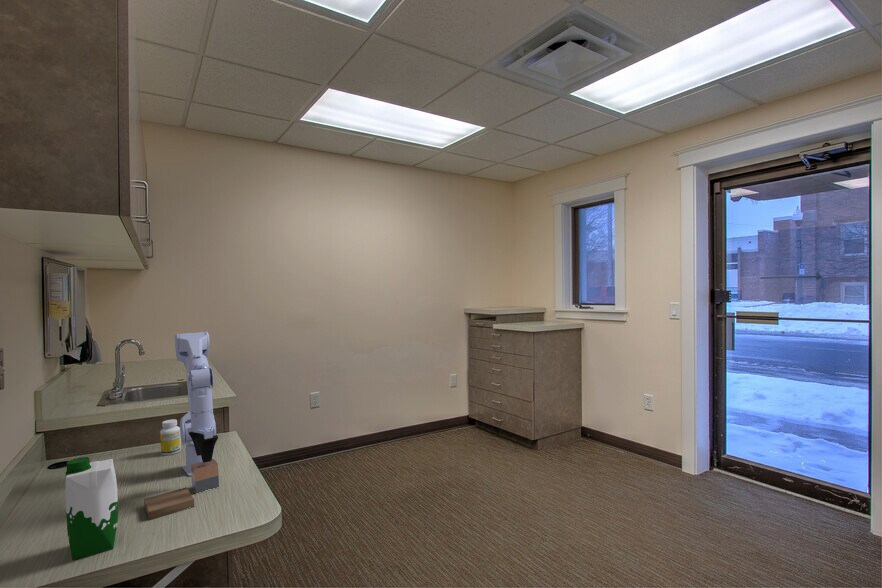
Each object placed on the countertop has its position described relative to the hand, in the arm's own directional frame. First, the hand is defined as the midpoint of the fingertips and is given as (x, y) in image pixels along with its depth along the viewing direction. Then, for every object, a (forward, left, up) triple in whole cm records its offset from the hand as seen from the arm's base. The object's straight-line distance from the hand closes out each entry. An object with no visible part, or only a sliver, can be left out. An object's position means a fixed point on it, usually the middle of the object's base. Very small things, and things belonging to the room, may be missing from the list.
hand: (204, 458), depth 131 cm
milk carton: (+17, -26, -9) cm, 32 cm away
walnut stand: (+6, -10, -9) cm, 14 cm away
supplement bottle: (-43, -2, -9) cm, 44 cm away
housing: (0, 0, -9) cm, 9 cm away
